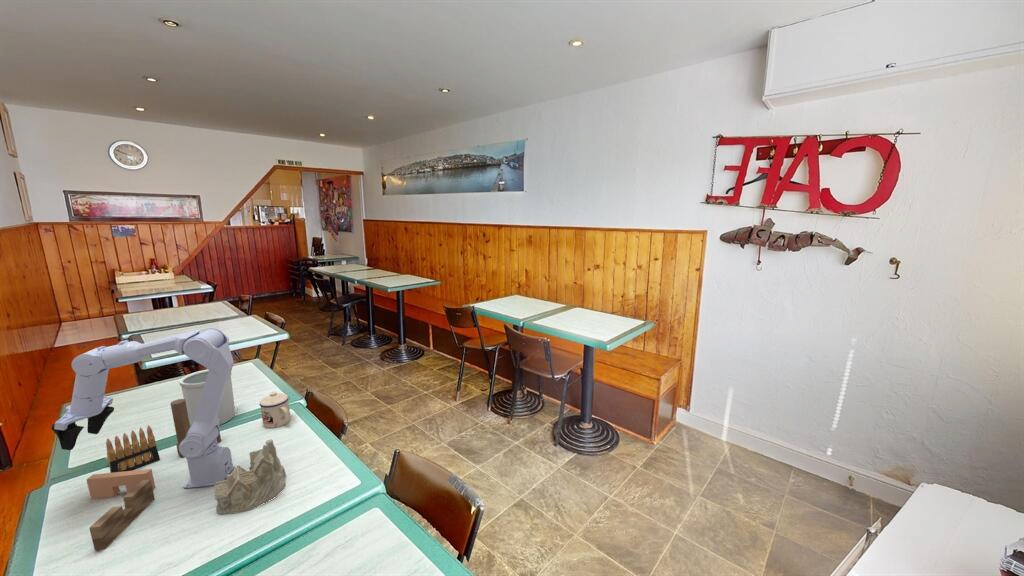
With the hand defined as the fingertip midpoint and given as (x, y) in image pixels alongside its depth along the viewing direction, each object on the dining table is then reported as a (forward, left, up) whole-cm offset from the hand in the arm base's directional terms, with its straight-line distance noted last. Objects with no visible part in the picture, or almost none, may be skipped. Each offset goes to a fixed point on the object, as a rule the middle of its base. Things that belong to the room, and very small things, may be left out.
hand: (80, 440), depth 104 cm
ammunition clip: (-3, -11, -17) cm, 20 cm away
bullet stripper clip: (+4, -17, -17) cm, 24 cm away
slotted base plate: (-17, +13, -16) cm, 27 cm away
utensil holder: (-10, -38, -17) cm, 43 cm away
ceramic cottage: (-42, +6, -17) cm, 46 cm away
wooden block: (-16, -19, -17) cm, 30 cm away
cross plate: (-8, +1, -16) cm, 18 cm away
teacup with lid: (-35, -31, -17) cm, 50 cm away
